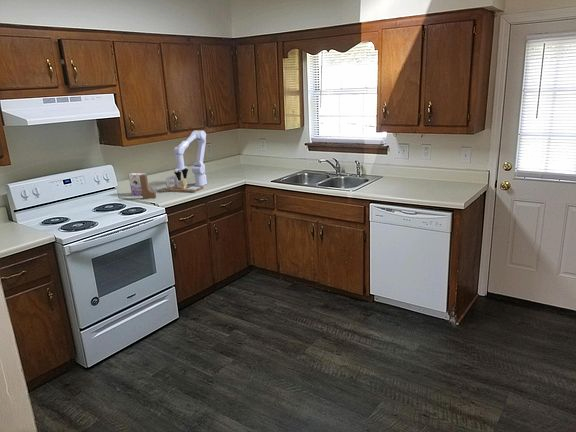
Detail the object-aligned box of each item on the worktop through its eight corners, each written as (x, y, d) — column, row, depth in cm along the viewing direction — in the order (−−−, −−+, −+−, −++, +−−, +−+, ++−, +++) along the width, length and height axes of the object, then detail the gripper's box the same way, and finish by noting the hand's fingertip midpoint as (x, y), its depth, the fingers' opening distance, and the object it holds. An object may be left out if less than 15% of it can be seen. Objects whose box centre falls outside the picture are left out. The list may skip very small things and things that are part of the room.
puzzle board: (175, 187, 369) (175, 185, 369) (203, 188, 359) (203, 186, 359) (164, 191, 357) (164, 189, 356) (193, 192, 347) (193, 190, 346)
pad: (191, 187, 359) (191, 186, 359) (200, 187, 356) (200, 187, 356) (186, 189, 352) (185, 189, 352) (194, 189, 349) (194, 189, 349)
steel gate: (175, 185, 367) (174, 174, 364) (177, 185, 366) (176, 175, 364) (166, 188, 356) (165, 178, 354) (169, 188, 356) (167, 178, 353)
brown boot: (156, 196, 341) (152, 173, 336) (155, 198, 337) (151, 174, 332) (144, 197, 341) (140, 174, 335) (143, 199, 336) (139, 175, 331)
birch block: (183, 189, 361) (181, 179, 358) (187, 189, 359) (186, 179, 357) (180, 190, 357) (178, 180, 355) (184, 190, 356) (183, 180, 353)
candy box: (149, 194, 352) (146, 173, 347) (143, 195, 347) (140, 174, 342) (137, 192, 358) (134, 172, 354) (131, 194, 354) (128, 173, 349)
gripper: (181, 160, 359) (183, 177, 363) (170, 164, 347) (172, 181, 351) (188, 160, 357) (190, 177, 361) (178, 164, 344) (180, 181, 348)
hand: (182, 179), depth 355 cm, fingers open, 7 cm apart
